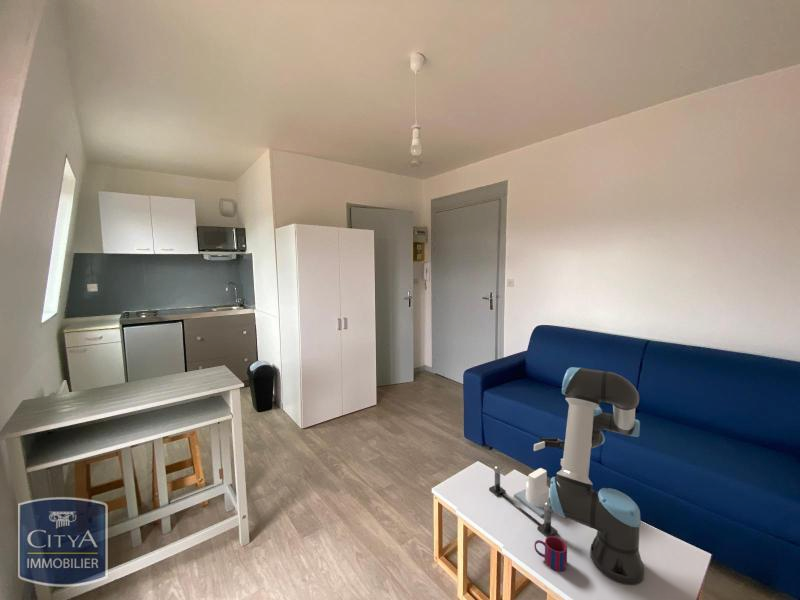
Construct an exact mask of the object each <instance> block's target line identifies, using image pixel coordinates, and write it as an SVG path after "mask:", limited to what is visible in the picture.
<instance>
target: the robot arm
mask: <svg viewBox="0 0 800 600" xmlns="http://www.w3.org/2000/svg"><path fill="white" fill-rule="evenodd" d="M562 379H563V380H562V384H561V386H562V387H561V394H563V396H565V401H566V402H567V403H568V411H567V419H566V430H565V439H564V440H561V437H540V438H539V441H538V442H536V443H534V444H533V452H536V451H539V450H542V449H545V448H557V449H559V450H563V456H562V457H563V458H560V466H561V469H560V470H559V471H557V472H556V476H552V477H551V479H550V484H549V497H550V502H551V507H552V509H553V512H554V513H555V514H556V515H559V516H561V517H563V518H564V519H566V520H570V521H573V522H575V523H578V524H581V525H584V526H585V527H588V528H590V529H593V530H596V535H595V537H594V539H593V541H592V543H591V545H590V551H589V552H590V553H589V555H590V560H591V563H593V564H594V566H595V568H596V569H597V570H598V571H600V572H601V573H602V574H603V575H605V576H606V577H607V578H610V579H611V580H612V581H615V582H618V583H620V584H623V585H630V586H631V585H639V584H641V583H642V582H643V581H644V579H645V566H644V565H645V564H644V562H643V560H642V558H641V552H640V550H639V549H640V528H641V527H640V526H641V523H642V521H641V520H642V519H641V511H640V508H639V506H638V504H637V503H636V502H635V500H633V499H632V498H631V497H630V496H629V495H628V494H626V493H624V492H622V491H619V490H618V489H614V488H609V487H607V488H606V487H602V488H600V489H599V490H598V491H597V490H594V489H593V482H592V481H591V480H590V478H589V474H590V473H589V472H590V463H591V462H590V461H591V452H592V451H591V450H592V449H594V448H598V447H600V446H601V445H603V444H604V443H605V442H606V436H605V434H604V432H603V431H602V430H604V431H607V432H608V431H609V432H613V433H617V434H621V435H624V436H625V435H626V436H629V437H635V438H638V437H639V436H640V427H641V421H640V420H639V419H636V408H637V407H638V405H639V402H640V395H639V392H638V390H637V389H636V387H635V386H634V385H633V384H632V383H631V381H629V380H628V379H626V378H625V377H623V376H622V375H621V374H617V373H615V372H613V371H612V372H611V371H603V370H597V369H591V368H587V367H586V368H585V367H574V366H573V367H572V366H571V367H569V368H568V369H566V371H565V374H564V377H563V378H562ZM600 403H608V404H611V405H612V410H613V411H612V412H613V414H612V413H606V412H603V409H602V408H601V406H600Z"/></svg>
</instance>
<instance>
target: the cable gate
mask: <svg viewBox="0 0 800 600" xmlns="http://www.w3.org/2000/svg"><path fill="white" fill-rule="evenodd" d="M493 473H494V485H492V486H489V488H488V491H490V493H492V494H493V495H495V497H497V498H498V497H500V496H501V497H503V499H505V500H507V501H508V503H510V504H511V505H513V506H514V507H515V509H516V508H517V510H519V511H521V512H522V514H523V515H525V516H526V517H527V518H529V519H530V520H532V522H534V523H535V524H536V525H537V529H536V530H537V531H538V532H539V533H540V534H542V535H543V536H544V537H546V538H547V537H550V536H554V537H556V536H557V535H558V529H556V528H554V527H553V526H552V512H551V511H552V507H551V503H550V502H548V501H547V502H545V503H544V505H543V506H544V516H543V520H544V521H543V523H540V521H538V520H537V519H536V518H534V517H533V516H532V515H531V514H530V513H528V512H527V511H525V510H524V509H523V508H522V507H520V506H519V505H518V504H517V503H516V502H514V501H513V500H512V499H511V498H509V497H508V496H507V495H505V494H506V490H505V489H504V488H503V487H502V486H501V473H502V468H501V467H500V466H499V465H496V466H494V468H493Z"/></svg>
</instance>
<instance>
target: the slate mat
mask: <svg viewBox="0 0 800 600" xmlns="http://www.w3.org/2000/svg"><path fill="white" fill-rule="evenodd" d="M513 497H514V498H515V499H517V501H519V502H520V503H521V504H523V505H524V506H525V507H527V508H528V509H529V510H530V511H532V512H533V513H535V515H537V516H538V517H540V518H544V507H537V506H534V505H532V504H530V503H529V502H528V501H527V500H526V488H525V489H522V490H521V491H519V492H517V493H514V494H513ZM549 502H550V496H549ZM550 503H551V502H550ZM552 511H553V509H552ZM552 511H551V513H553V512H554V511H553V512H552Z"/></svg>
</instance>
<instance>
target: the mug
mask: <svg viewBox="0 0 800 600" xmlns="http://www.w3.org/2000/svg"><path fill="white" fill-rule="evenodd" d="M537 544H541V545H543V546H544V553H542V552H541V551H540V550H538V549H537ZM534 551H535V552H536V554H538V555H539V556H541V557H542V558H544V562H545V564H546V566H547V567H548V568H549V569H552V570H553V571H555V572H563V571H564V572H565V570H567V568H568V567H567V566H568V545H567V543H566V542H565V541H564V539H561V538H559V537H557V536H550V537H546V538H545V541H543V540H540V539H536V540H535V542H534Z"/></svg>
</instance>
